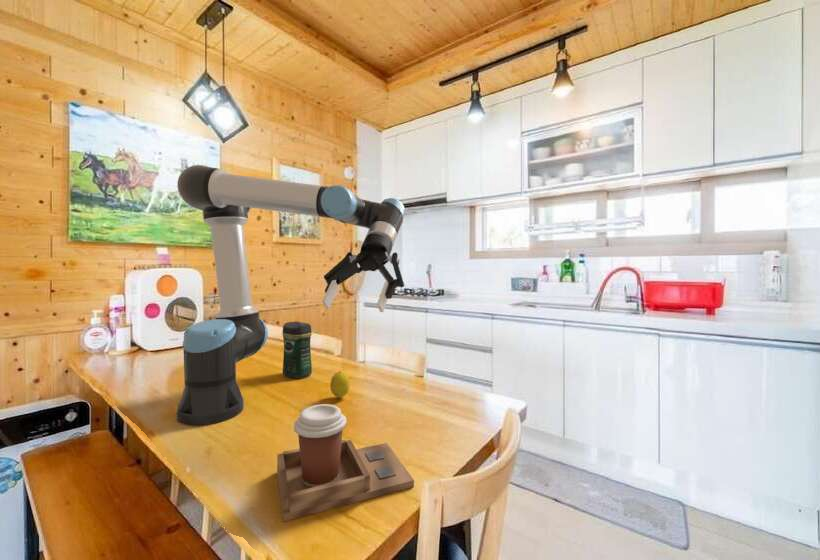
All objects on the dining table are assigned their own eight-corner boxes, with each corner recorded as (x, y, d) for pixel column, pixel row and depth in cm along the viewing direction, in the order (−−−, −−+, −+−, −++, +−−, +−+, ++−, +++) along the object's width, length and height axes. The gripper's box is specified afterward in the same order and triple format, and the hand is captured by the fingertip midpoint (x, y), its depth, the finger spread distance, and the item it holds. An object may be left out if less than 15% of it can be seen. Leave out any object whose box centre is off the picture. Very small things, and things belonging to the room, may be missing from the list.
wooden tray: (283, 522, 54) (283, 498, 54) (277, 471, 67) (277, 452, 67) (413, 486, 63) (414, 466, 63) (386, 448, 76) (386, 431, 76)
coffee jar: (315, 374, 124) (315, 321, 123) (297, 381, 117) (297, 325, 116) (297, 369, 129) (296, 319, 128) (278, 375, 123) (278, 322, 121)
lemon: (345, 402, 100) (345, 374, 99) (327, 401, 101) (327, 373, 101) (352, 395, 105) (352, 369, 105) (335, 394, 106) (335, 367, 106)
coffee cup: (300, 463, 68) (299, 402, 67) (348, 461, 69) (348, 400, 68) (288, 495, 59) (287, 424, 58) (344, 492, 60) (344, 422, 59)
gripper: (427, 253, 92) (408, 320, 79) (341, 252, 100) (310, 313, 86) (421, 231, 87) (400, 298, 73) (331, 232, 94) (297, 293, 81)
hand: (351, 306), depth 80 cm, fingers open, 13 cm apart
